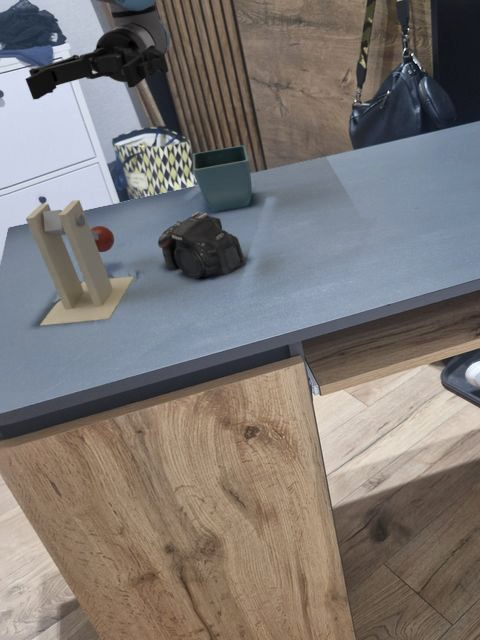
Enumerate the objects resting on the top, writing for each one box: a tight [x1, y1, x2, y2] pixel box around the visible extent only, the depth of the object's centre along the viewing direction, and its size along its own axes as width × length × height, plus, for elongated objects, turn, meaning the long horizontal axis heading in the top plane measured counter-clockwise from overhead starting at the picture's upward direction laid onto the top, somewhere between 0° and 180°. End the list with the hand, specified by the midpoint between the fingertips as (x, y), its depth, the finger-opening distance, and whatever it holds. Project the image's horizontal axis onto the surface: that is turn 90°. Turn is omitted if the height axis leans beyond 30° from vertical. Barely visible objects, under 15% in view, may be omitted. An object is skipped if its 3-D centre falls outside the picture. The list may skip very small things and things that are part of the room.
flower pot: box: [192, 144, 253, 213], centre depth 105 cm, size 9×9×9 cm
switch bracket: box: [25, 199, 135, 327], centre depth 81 cm, size 11×9×14 cm
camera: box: [157, 211, 246, 280], centre depth 87 cm, size 11×8×9 cm
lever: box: [43, 209, 115, 253], centre depth 84 cm, size 14×4×4 cm
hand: (79, 83), depth 87 cm, fingers open, 13 cm apart
